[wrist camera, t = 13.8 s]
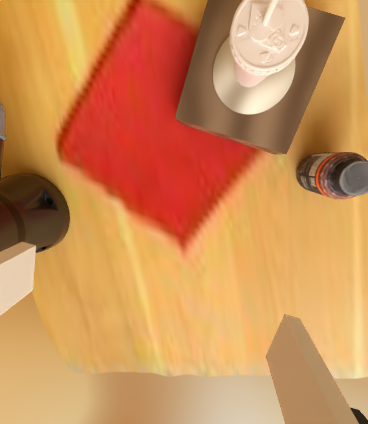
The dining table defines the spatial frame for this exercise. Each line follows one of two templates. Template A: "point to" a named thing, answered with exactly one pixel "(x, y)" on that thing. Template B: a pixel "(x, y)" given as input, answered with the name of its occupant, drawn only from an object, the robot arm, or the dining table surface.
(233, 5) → the stand
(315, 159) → the supplement bottle
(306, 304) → the dining table surface
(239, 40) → the white drink cup
